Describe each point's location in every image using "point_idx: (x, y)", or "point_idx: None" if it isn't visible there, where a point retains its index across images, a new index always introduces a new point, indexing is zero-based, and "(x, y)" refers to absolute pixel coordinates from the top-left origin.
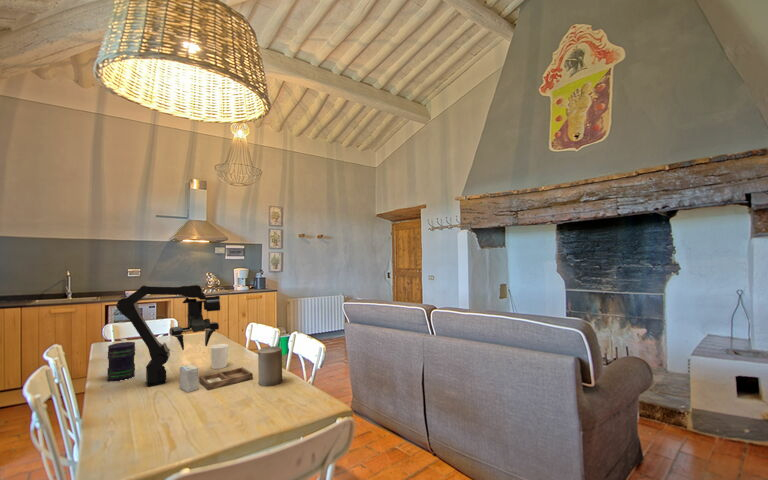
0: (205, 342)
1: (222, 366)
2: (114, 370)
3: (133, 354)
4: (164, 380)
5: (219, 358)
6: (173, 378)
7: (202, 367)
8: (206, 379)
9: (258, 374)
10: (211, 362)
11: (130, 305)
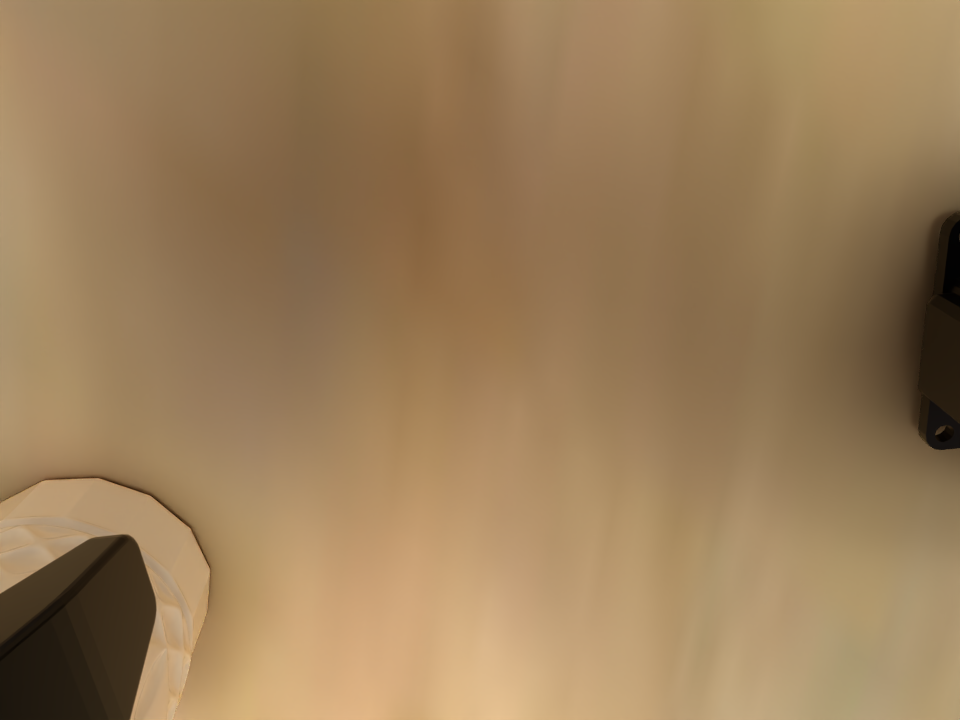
0: (87, 697)
1: (35, 491)
2: None
3: None
4: (955, 281)
5: (7, 575)
6: (771, 416)
7: (335, 680)
8: None
9: None
10: (187, 636)
11: None
